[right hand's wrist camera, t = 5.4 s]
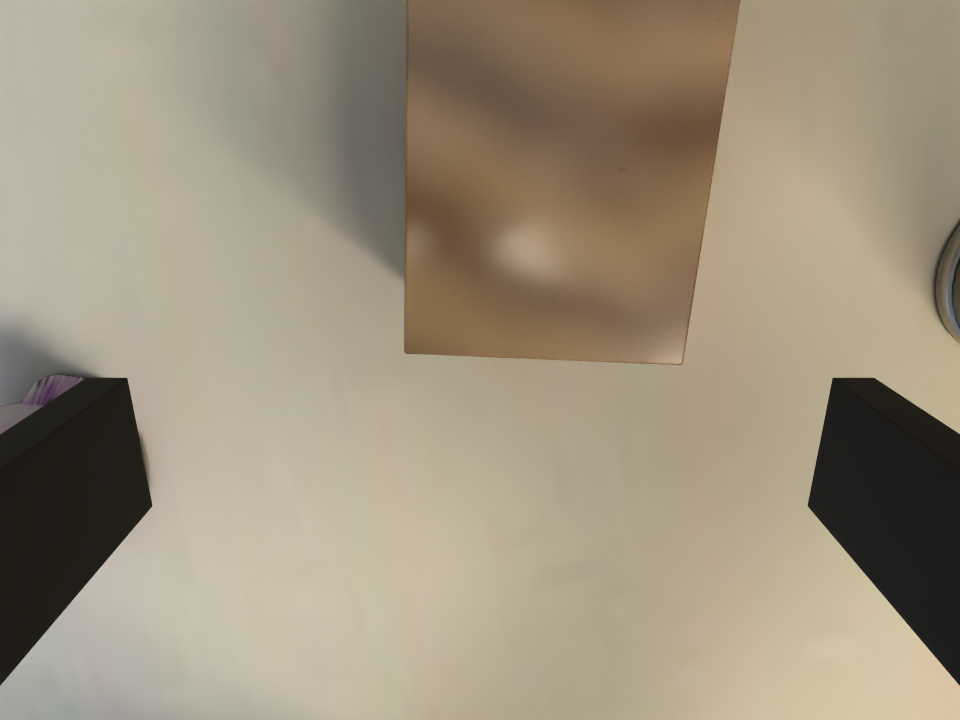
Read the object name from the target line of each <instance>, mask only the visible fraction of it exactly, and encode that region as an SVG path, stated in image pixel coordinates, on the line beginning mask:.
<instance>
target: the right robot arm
mask: <svg viewBox="0 0 960 720" xmlns="http://www.w3.org/2000/svg"><path fill="white" fill-rule="evenodd" d="M151 507H152V502H151V496H150V491H149V486H148V481H147V476H146V471H145V466H144V461H143V456H142V451H141V446H140V441H139V435H138V430H137V425H136V420H135V415H134V410H133V405H132V400H131V395H130V390H129V385H128V380H127V378H85V379H84V380H82V381H81V382H79V383H77V384H76V385H74V386H73V387H71V388H70V389H68V390H67V391H65V392H64V393H62V394H61V395H59V396H58V397H56V398H55V399H53V400H52V401H50V402H49V403H47V404H46V405H44V406H42V407H41V408H39V409H38V410H36V411H35V412H33V413H32V414H30V415H29V416H27V417H26V418H24V419H23V420H21V421H20V422H18V423H17V424H15V425H14V426H12V427H11V428H9V429H7V430H6V431H4V432H3V433H1V434H0V685H1V684H2V683H3V682H4V681H5V679H6V678H7V677H8V676H9V675H10V673H11V672H12V671H13V670H14V669H15V668H16V666H17V665H18V664H19V663H20V662H21V660H22V659H23V658H24V657H25V656H26V655H27V653H28V652H29V651H30V650H31V649H32V647H33V646H34V645H35V644H36V643H37V642H38V640H39V639H40V638H41V637H42V636H43V634H44V633H45V632H46V631H47V630H48V629H49V627H50V626H51V625H52V624H53V623H54V622H55V620H56V619H57V618H58V617H59V616H60V614H61V613H62V612H63V611H64V610H65V609H66V607H67V606H68V605H69V604H70V603H71V601H72V600H73V599H74V598H75V597H76V596H77V594H78V593H79V592H80V591H81V590H82V588H83V587H84V586H85V585H86V584H87V583H88V581H89V580H90V579H91V578H92V577H93V575H94V574H95V573H96V572H97V571H98V570H99V568H100V567H101V566H102V565H103V564H104V562H105V561H106V560H107V559H108V558H109V557H110V555H111V554H112V553H113V552H114V551H115V549H116V548H117V547H118V546H119V545H120V544H121V542H122V541H123V540H124V539H125V538H126V536H127V535H128V534H129V533H130V532H131V531H132V529H133V528H134V527H135V526H136V525H137V523H138V522H139V521H140V520H141V519H142V518H143V516H144V515H145V514H146V513H147V512H148V510H149V509H150V508H151ZM808 507H809V508H810V509H811V511H812V512H813V513H814V514H815V515H816V516H817V518H818V519H819V520H820V521H821V522H822V523H823V525H824V526H825V527H826V528H827V529H828V531H829V532H830V533H831V534H832V535H833V536H834V538H835V539H836V540H837V541H838V542H839V544H840V545H841V546H842V547H843V548H844V549H845V551H846V552H847V553H848V554H849V555H850V557H851V558H852V559H853V560H854V561H855V562H856V564H857V565H858V566H859V567H860V568H861V570H862V571H863V572H864V573H865V574H866V575H867V577H868V578H869V579H870V580H871V581H872V583H873V584H874V585H875V586H876V587H877V588H878V590H879V591H880V592H881V593H882V594H883V596H884V597H885V598H886V599H887V600H888V601H889V603H890V604H891V605H892V606H893V607H894V609H895V610H896V611H897V612H898V613H899V614H900V616H901V617H902V618H903V619H904V620H905V622H906V623H907V624H908V625H909V626H910V627H911V629H912V630H913V631H914V632H915V633H916V634H917V636H918V637H919V638H920V639H921V640H922V642H923V643H924V644H925V645H926V646H927V647H928V649H929V650H930V651H931V652H932V653H933V655H934V656H935V657H936V658H937V659H938V660H939V662H940V663H941V664H942V665H943V666H944V668H945V669H946V670H947V671H948V672H949V673H950V675H951V676H952V677H953V678H954V679H955V681H956V682H957V683H958V684H959V685H960V434H959V433H957V432H956V431H954V430H953V429H951V428H949V427H948V426H946V425H945V424H943V423H942V422H940V421H939V420H937V419H936V418H934V417H933V416H931V415H930V414H928V413H927V412H925V411H924V410H922V409H921V408H919V407H918V406H916V405H914V404H913V403H911V402H910V401H908V400H907V399H905V398H904V397H902V396H901V395H899V394H898V393H896V392H895V391H893V390H892V389H890V388H889V387H887V386H886V385H884V384H883V383H881V382H879V381H878V380H876V379H875V378H833V380H832V385H831V390H830V395H829V400H828V405H827V410H826V415H825V420H824V425H823V430H822V435H821V441H820V446H819V451H818V456H817V461H816V466H815V471H814V476H813V481H812V486H811V491H810V496H809V502H808Z"/></svg>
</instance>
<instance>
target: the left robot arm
mask: <svg viewBox="0 0 960 720" xmlns="http://www.w3.org/2000/svg"><path fill="white" fill-rule="evenodd" d="M936 300H937V306H938V310H939V313H940V316H941V319H942V321H943V323H944V325H945V327H946V328H947V330H948V331H949V333H950V334H951V335H952V336H953V337H954V338H955V339H956V340H957V341H958V342H959V343H960V225H959V227H958V228H957V230H956V231H955V232H954V234H953V236H952V237H951V239H950V241H949V243H948V245H947V247H946V249H945V251H944V253H943V256H942V259H941V262H940V265H939V269H938V274H937V280H936Z"/></svg>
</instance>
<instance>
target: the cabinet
mask: <svg viewBox="0 0 960 720" xmlns="http://www.w3.org/2000/svg"><path fill="white" fill-rule="evenodd" d="M739 5H740V0H407V7H406V160H405V313H404V352H405V353H407V354H429V355H453V356H477V357H501V358H524V359H548V360H572V361H596V362H620V363H644V364H668V365H682V364H683V359H684V352H685V346H686V340H687V333H688V327H689V321H690V314H691V308H692V302H693V295H694V289H695V283H696V276H697V270H698V264H699V257H700V251H701V245H702V239H703V232H704V226H705V220H706V213H707V207H708V201H709V194H710V188H711V182H712V175H713V169H714V163H715V156H716V150H717V144H718V137H719V131H720V125H721V118H722V112H723V106H724V99H725V93H726V87H727V80H728V74H729V68H730V61H731V55H732V49H733V42H734V36H735V30H736V24H737V17H738V11H739Z"/></svg>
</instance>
